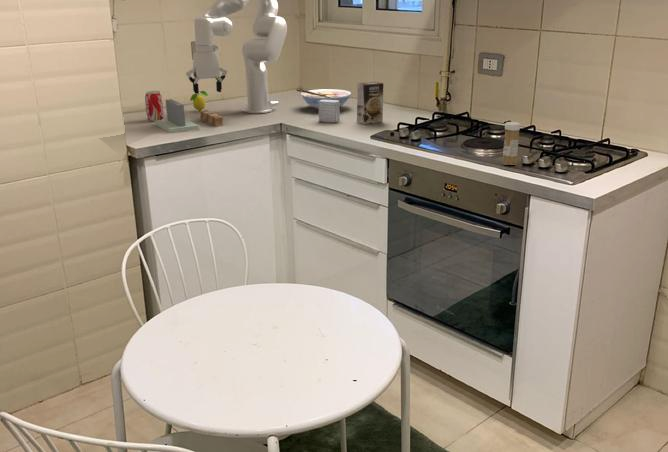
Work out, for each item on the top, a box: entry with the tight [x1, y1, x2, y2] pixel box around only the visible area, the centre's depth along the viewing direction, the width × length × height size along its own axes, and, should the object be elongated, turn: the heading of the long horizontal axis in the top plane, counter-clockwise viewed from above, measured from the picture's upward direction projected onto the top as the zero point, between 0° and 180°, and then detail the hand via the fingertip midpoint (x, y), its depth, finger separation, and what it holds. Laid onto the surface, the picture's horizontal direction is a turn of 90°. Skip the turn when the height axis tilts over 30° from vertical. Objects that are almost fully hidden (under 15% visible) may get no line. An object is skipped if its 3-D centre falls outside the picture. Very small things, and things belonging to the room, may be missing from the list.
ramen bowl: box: [296, 88, 351, 110], centre depth 297 cm, size 25×23×8 cm
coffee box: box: [356, 81, 384, 125], centre depth 267 cm, size 9×6×16 cm
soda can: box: [144, 90, 165, 122], centre depth 276 cm, size 7×7×12 cm
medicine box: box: [318, 100, 341, 123], centre depth 271 cm, size 8×4×9 cm, turn 71°
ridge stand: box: [154, 99, 200, 134], centre depth 264 cm, size 12×19×10 cm, turn 32°
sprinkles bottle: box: [501, 121, 521, 165], centre depth 204 cm, size 5×5×13 cm
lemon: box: [189, 90, 209, 113], centre depth 294 cm, size 7×6×10 cm
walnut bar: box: [199, 109, 224, 128], centre depth 272 cm, size 18×3×4 cm, turn 31°
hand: (207, 92), depth 268 cm, fingers open, 9 cm apart
